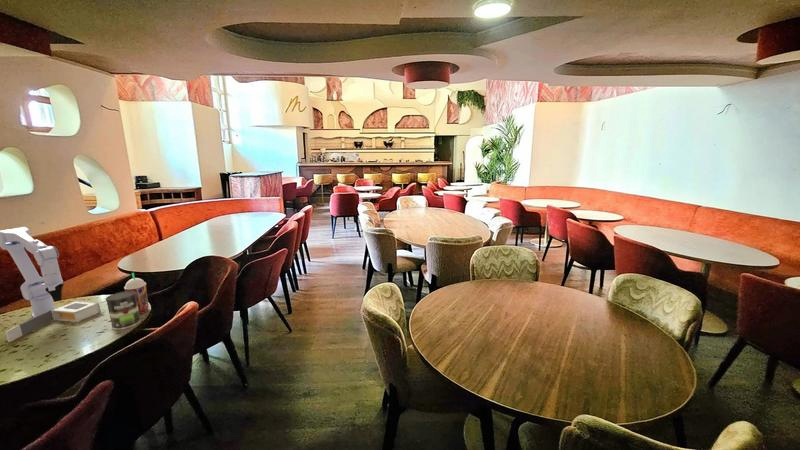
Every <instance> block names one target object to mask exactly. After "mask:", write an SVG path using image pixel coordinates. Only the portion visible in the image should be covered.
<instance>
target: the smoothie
mask: <svg viewBox="0 0 800 450" xmlns="http://www.w3.org/2000/svg"><path fill="white" fill-rule="evenodd" d="M131 276H132V278H131V279H129V280H128V281H127V282H126V283H125V286H123V289H124V291H135V292H136V299H137V304H138V309H139V314H143V313H146V312H148V310H149V309H148V308H149V307H150V305H149V299H148V292H147V291H148V290H147V282H146V281H144V279H142V278H140V277H135V272H131Z"/></svg>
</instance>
